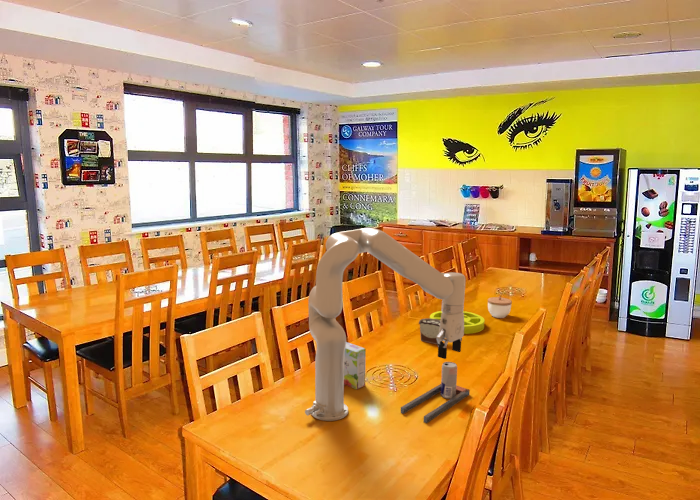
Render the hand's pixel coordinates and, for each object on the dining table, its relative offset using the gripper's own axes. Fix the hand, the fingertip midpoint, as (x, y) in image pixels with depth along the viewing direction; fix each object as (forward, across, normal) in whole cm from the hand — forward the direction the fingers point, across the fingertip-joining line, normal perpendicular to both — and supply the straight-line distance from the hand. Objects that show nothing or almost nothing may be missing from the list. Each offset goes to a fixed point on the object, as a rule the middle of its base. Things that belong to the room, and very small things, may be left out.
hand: (449, 354), depth 184 cm
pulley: (+15, +76, +40) cm, 87 cm away
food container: (+16, +46, +36) cm, 61 cm away
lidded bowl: (+14, +106, +30) cm, 111 cm away
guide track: (+16, -8, 0) cm, 18 cm away
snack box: (+17, -16, +38) cm, 44 cm away
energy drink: (+16, +1, 0) cm, 16 cm away
